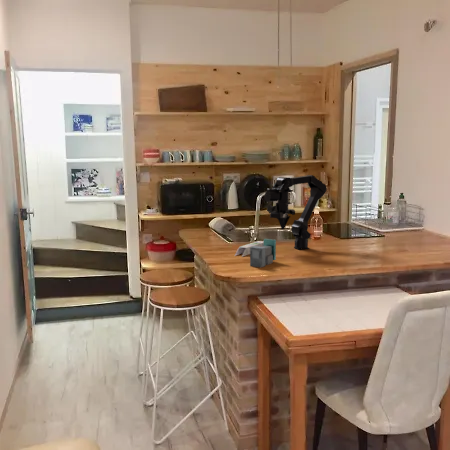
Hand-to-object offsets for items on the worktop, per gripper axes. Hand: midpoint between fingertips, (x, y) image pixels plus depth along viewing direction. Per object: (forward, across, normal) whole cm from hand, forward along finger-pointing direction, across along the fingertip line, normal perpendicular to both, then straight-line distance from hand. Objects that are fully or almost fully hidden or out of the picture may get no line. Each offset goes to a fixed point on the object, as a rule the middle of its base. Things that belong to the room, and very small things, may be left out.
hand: (282, 229), depth 271 cm
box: (+13, +13, -13) cm, 22 cm away
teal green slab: (+11, +31, +6) cm, 34 cm away
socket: (+12, +37, +6) cm, 39 cm away
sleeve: (+12, +30, +6) cm, 33 cm away
